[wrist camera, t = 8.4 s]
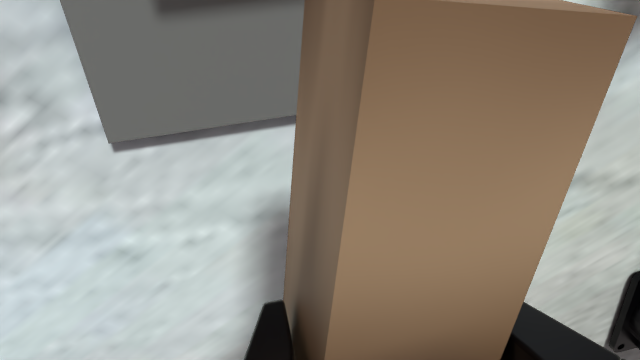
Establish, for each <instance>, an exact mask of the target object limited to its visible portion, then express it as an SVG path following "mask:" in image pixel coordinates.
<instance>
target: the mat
mask: <svg viewBox="0 0 640 360" xmlns="http://www.w3.org/2000/svg"><path fill="white" fill-rule="evenodd" d="M60 2H61V5H62V8H63V10H64V13H65V16H66V19H67V22H68V25H69V28H70V31H71V34H72V37H73V40H74V43H75V46H76V49H77V52H78V55H79V57H80V60H81V63H82V66H83V69H84V72H85V75H86V78H87V81H88V84H89V87H90V90H91V93H92V96H93V99H94V102H95V104H96V107H97V110H98V113H99V116H100V119H101V122H102V125H103V128H104V131H105V134H106V137H107V140H108V143H116V142H122V141H129V140H135V139H142V138H149V137H155V136H162V135H168V134H175V133H181V132H188V131H195V130H201V129H208V128H214V127H221V126H228V125H234V124H241V123H247V122H254V121H260V120H267V119H274V118H280V117H287V116H293V115H296V114H297V100H298V86H299V72H300V58H301V44H302V30H303V16H304V2H305V0H60Z"/></svg>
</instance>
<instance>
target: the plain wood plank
mask: <svg viewBox="0 0 640 360" xmlns="http://www.w3.org/2000/svg"><path fill="white" fill-rule="evenodd" d="M636 18H637V16H634V15H630V14H625V13H620V12H615V11H610V10H606V9H601V8H596V7H591V6H586V5H581V4H577V3H572V2H567V1H562V0H305V2H304V16H303V30H302V44H301V58H300V72H299V86H298V100H297V114H296V128H295V142H294V155H293V169H292V183H291V197H290V211H289V225H288V239H287V253H286V267H285V281H284V295H283V301H284V303H285V307H286V312H287V317H288V322H289V327H290V331H291V336H292V342H293V348H294V355H295V360H500V359H501V357H502V354H503V352H504V349H505V347H506V344H507V342H508V339H509V336H510V334H511V331H512V329H513V326H514V324H515V321H516V319H517V316H518V314H519V311H520V309H521V306H522V304H523V301H524V299H525V296H526V294H527V291H528V289H529V286H530V284H531V281H532V279H533V276H534V274H535V271H536V269H537V266H538V264H539V261H540V259H541V256H542V254H543V251H544V249H545V246H546V244H547V241H548V239H549V236H550V234H551V231H552V229H553V226H554V224H555V221H556V219H557V216H558V214H559V211H560V209H561V206H562V203H563V201H564V198H565V196H566V193H567V191H568V188H569V186H570V183H571V181H572V178H573V176H574V173H575V171H576V168H577V166H578V163H579V161H580V158H581V156H582V153H583V151H584V148H585V146H586V143H587V141H588V138H589V136H590V133H591V131H592V128H593V126H594V123H595V121H596V118H597V116H598V113H599V111H600V108H601V106H602V103H603V101H604V98H605V96H606V93H607V91H608V88H609V86H610V83H611V81H612V78H613V76H614V73H615V70H616V68H617V65H618V63H619V60H620V58H621V55H622V53H623V50H624V48H625V45H626V43H627V40H628V38H629V35H630V33H631V30H632V28H633V25H634V23H635V20H636Z"/></svg>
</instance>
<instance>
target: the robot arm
mask: <svg viewBox="0 0 640 360" xmlns="http://www.w3.org/2000/svg"><path fill="white" fill-rule="evenodd" d="M609 346H610V347H611V348H612V349H613V350H614V351H615V352H622V351H626V350H630V349H634V348H638V349H639V350H640V271H639V272H638V273H636V274H635V275H634V276H633V278H632V280H631V283H630V286H629V289H628V292H627V295H626V297H625V300H624V303H623V306H622V309H621V312H620V315H619V318H618V320H617V323H616V326H615V329H614V332H613V335H612V338H611V341H610V344H609ZM244 360H295V355H294V348H293V342H292V336H291V331H290V327H289V322H288V317H287V312H286V307H285V303H284V301H283V300H277V301H272V302H267V303H265V304H264V305H263V307H262V309H261V312H260V315H259V318H258V321H257V324H256V326H255V329H254V332H253V335H252V338H251V341H250V343H249V346H248V349H247V352H246V355H245V357H244ZM500 360H625V359H620V357H619V356H618V355H616V354H614V353H613V352H611V351H609V350H607V349H606V348H604V347H602V346H600V345H598V344H597V343H595V342H593V341H591V340H590V339H588V338H586V337H584V336H583V335H581V334H579V333H577V332H576V331H574V330H572V329H570V328H569V327H567V326H565V325H563V324H562V323H560V322H558V321H556V320H555V319H553V318H551V317H549V316H548V315H546V314H544V313H542V312H541V311H539V310H537V309H535V308H534V307H532V306H530V305H528V304H527V303H525V302H523V304H522V306H521V309H520V311H519V314H518V316H517V319H516V321H515V324H514V326H513V329H512V331H511V334H510V336H509V339H508V342H507V344H506V347H505V349H504V352H503V354H502V357H501V359H500Z"/></svg>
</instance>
